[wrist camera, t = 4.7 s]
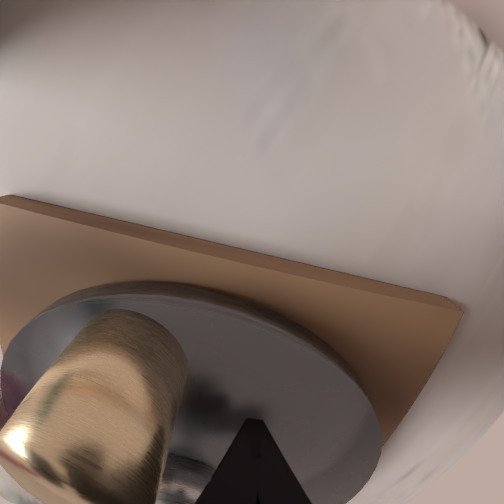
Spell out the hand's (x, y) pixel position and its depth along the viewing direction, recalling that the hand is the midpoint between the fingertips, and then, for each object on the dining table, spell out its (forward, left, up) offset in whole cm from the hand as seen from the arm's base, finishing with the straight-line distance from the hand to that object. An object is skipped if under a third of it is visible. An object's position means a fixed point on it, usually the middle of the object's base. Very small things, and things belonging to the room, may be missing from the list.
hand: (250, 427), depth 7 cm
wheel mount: (-7, +2, -5) cm, 9 cm away
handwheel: (-7, +2, -3) cm, 8 cm away
